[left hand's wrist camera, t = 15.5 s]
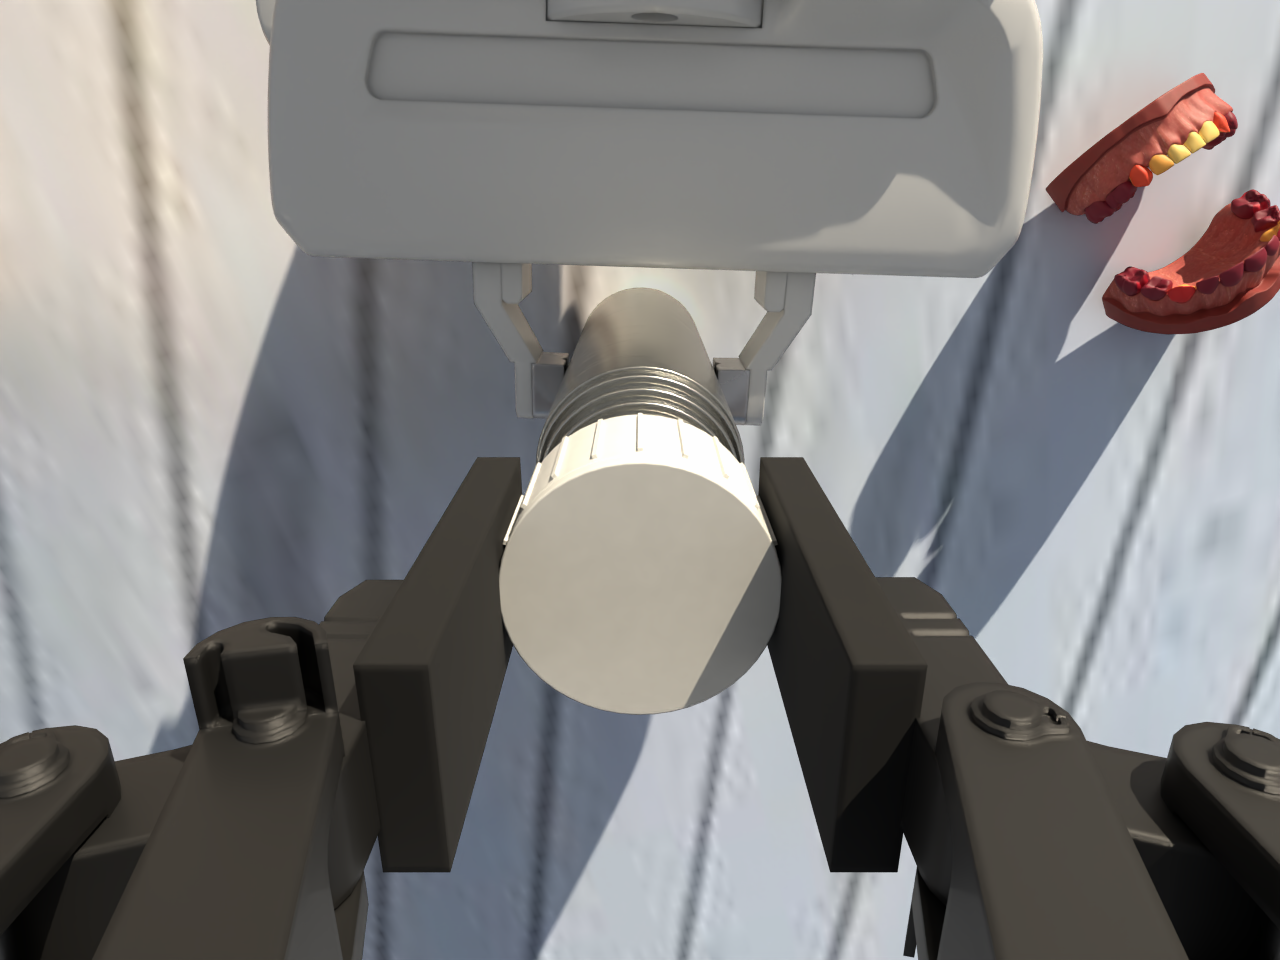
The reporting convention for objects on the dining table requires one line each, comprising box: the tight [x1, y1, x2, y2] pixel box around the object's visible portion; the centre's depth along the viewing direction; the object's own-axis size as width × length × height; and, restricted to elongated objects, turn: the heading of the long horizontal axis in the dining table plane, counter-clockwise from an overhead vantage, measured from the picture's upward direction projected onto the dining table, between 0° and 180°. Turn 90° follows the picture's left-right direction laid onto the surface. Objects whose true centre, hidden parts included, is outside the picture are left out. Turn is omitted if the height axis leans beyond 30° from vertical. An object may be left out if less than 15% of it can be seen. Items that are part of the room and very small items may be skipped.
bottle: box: [536, 288, 744, 465], centre depth 22 cm, size 5×5×19 cm
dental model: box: [1046, 73, 1280, 334], centre depth 27 cm, size 6×4×8 cm
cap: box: [499, 413, 782, 715], centre depth 13 cm, size 4×4×3 cm
